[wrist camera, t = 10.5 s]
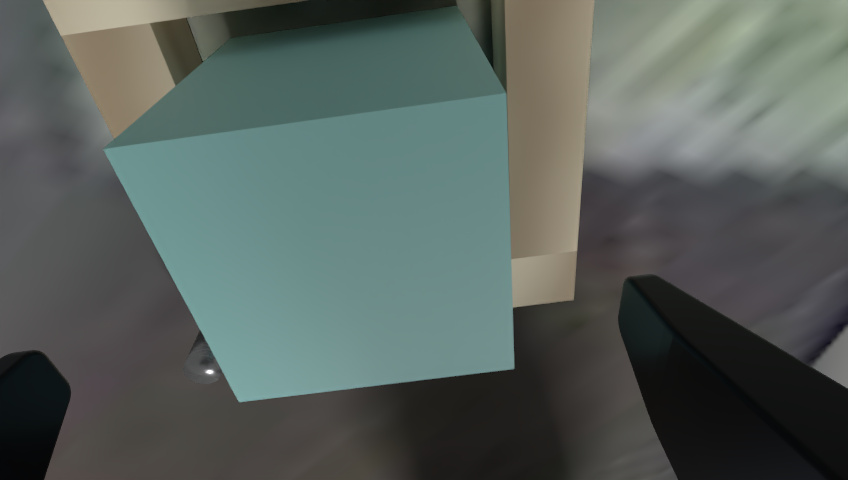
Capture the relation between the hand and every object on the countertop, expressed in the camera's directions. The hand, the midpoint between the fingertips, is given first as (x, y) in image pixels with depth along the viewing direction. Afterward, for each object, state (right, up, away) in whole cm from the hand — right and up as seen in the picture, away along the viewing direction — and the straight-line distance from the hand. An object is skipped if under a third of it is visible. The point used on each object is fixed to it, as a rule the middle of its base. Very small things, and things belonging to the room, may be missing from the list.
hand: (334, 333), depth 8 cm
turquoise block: (0, +5, +7) cm, 9 cm away
